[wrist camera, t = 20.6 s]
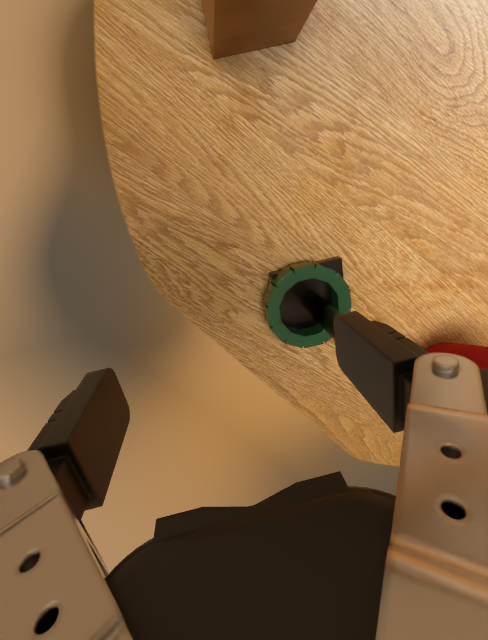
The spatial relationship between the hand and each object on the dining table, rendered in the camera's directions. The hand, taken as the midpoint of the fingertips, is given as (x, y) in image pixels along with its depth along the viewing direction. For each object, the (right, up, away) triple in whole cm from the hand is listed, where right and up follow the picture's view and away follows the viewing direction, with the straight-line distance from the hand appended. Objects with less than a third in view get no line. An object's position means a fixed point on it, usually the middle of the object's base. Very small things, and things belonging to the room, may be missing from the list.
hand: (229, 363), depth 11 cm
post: (+9, +5, +30) cm, 31 cm away
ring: (+8, +4, +29) cm, 30 cm away
